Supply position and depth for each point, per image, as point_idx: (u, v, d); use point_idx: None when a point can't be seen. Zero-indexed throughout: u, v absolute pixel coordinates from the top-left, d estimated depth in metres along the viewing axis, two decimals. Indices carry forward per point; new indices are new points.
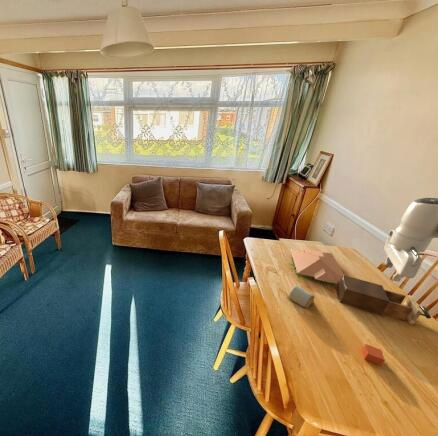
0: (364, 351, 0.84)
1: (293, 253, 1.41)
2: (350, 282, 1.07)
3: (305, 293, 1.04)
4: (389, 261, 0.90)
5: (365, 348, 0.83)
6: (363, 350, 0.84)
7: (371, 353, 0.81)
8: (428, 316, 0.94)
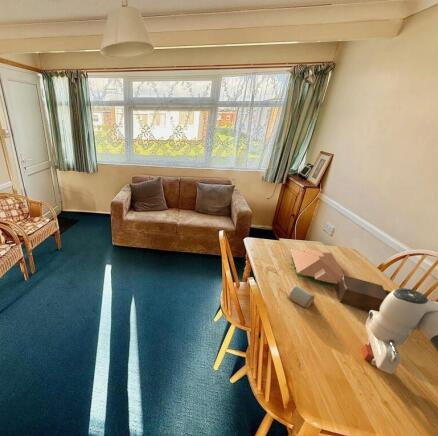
0: (364, 351, 0.84)
1: (293, 253, 1.41)
2: (350, 282, 1.07)
3: (305, 293, 1.04)
4: (371, 345, 0.84)
5: (365, 348, 0.83)
6: (363, 350, 0.84)
7: (371, 353, 0.81)
8: None
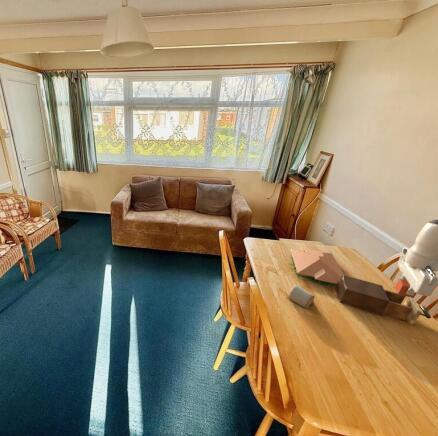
0: (398, 284, 0.91)
1: (293, 253, 1.41)
2: (350, 282, 1.07)
3: (305, 293, 1.04)
4: None
5: (399, 282, 0.91)
6: (397, 284, 0.92)
7: (406, 284, 0.88)
8: (428, 316, 0.94)
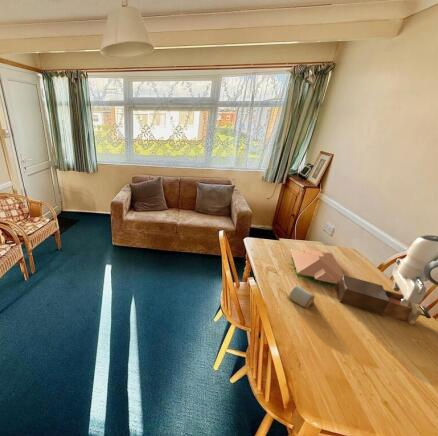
0: None
1: (293, 253, 1.41)
2: (350, 282, 1.07)
3: (305, 293, 1.04)
4: (397, 285, 1.02)
5: None
6: None
7: None
8: (428, 316, 0.94)
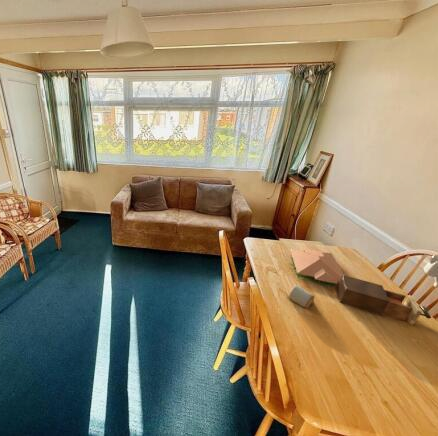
0: None
1: (293, 253, 1.41)
2: (350, 282, 1.07)
3: (305, 293, 1.04)
4: None
5: None
6: None
7: None
8: (428, 316, 0.94)
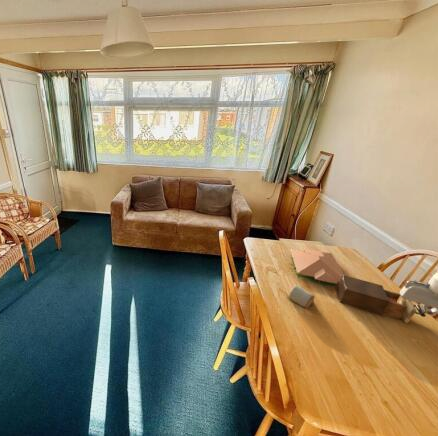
0: None
1: (293, 253, 1.41)
2: (350, 282, 1.07)
3: (305, 293, 1.04)
4: (432, 310, 0.95)
5: None
6: None
7: None
8: (423, 314, 0.95)
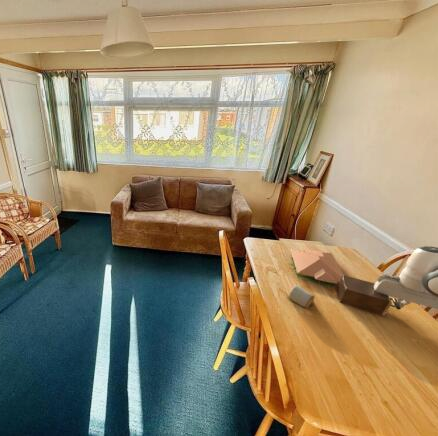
0: None
1: (293, 253, 1.41)
2: (350, 282, 1.07)
3: (305, 293, 1.04)
4: (402, 302, 0.99)
5: None
6: None
7: None
8: (398, 307, 0.98)
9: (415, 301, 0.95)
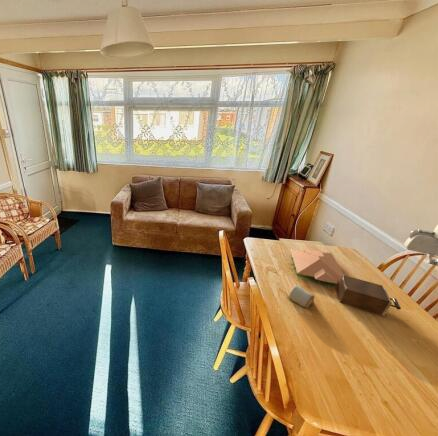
0: None
1: (293, 253, 1.41)
2: (350, 282, 1.07)
3: (305, 293, 1.04)
4: None
5: None
6: None
7: None
8: (398, 307, 0.98)
9: None
